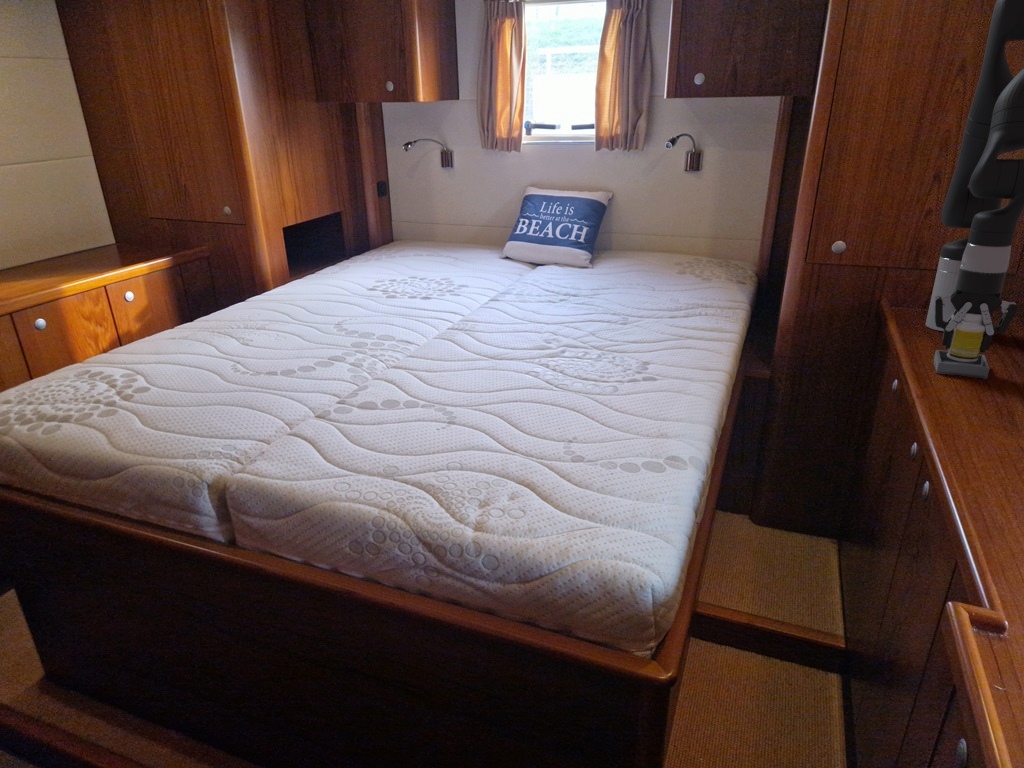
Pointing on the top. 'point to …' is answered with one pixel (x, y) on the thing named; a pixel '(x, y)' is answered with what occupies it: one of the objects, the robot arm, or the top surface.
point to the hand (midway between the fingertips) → (963, 349)
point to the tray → (960, 366)
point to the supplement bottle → (967, 338)
